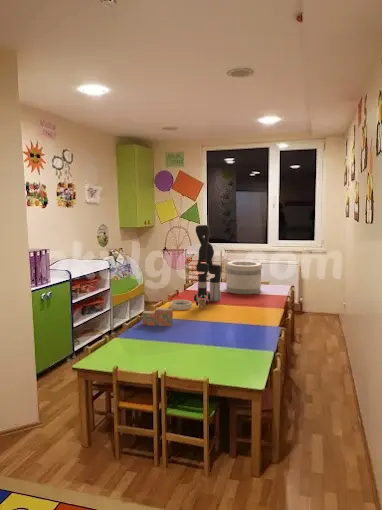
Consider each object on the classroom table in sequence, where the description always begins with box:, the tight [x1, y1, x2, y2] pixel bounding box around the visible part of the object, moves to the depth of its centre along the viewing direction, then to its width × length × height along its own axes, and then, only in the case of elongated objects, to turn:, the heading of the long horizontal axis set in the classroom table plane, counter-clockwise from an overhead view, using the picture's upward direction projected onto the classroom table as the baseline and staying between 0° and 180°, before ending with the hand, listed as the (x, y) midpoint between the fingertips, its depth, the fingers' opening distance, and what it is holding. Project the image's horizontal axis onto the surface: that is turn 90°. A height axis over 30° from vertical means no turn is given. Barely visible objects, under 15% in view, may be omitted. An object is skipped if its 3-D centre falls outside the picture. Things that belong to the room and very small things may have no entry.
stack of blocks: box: [142, 306, 174, 327], centre depth 309 cm, size 21×6×12 cm, turn 85°
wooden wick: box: [198, 298, 206, 309], centre depth 356 cm, size 4×4×7 cm
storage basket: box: [225, 260, 263, 295], centre depth 423 cm, size 35×35×27 cm
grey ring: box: [169, 299, 193, 311], centre depth 357 cm, size 18×18×4 cm
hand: (202, 305), depth 356 cm, fingers open, 8 cm apart
